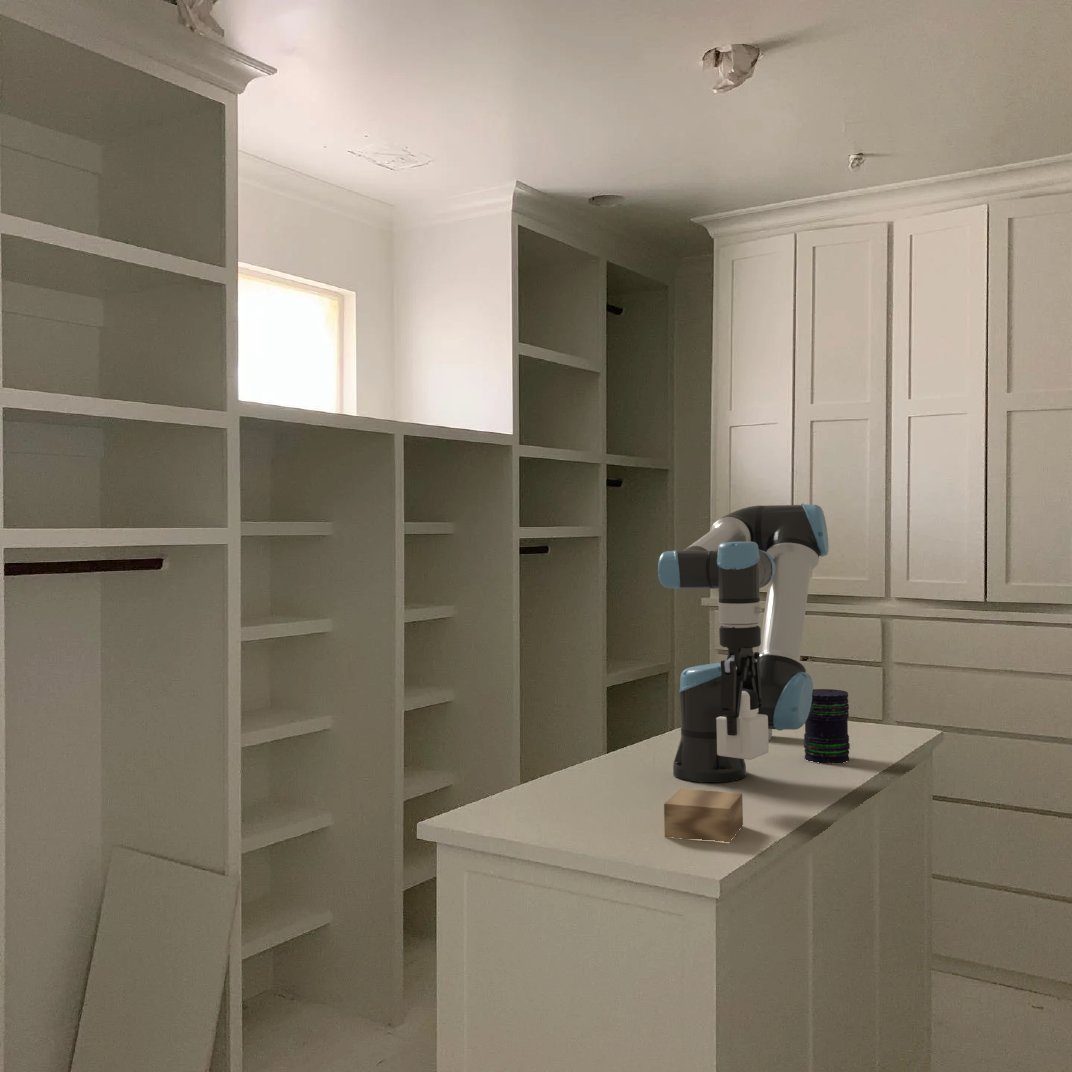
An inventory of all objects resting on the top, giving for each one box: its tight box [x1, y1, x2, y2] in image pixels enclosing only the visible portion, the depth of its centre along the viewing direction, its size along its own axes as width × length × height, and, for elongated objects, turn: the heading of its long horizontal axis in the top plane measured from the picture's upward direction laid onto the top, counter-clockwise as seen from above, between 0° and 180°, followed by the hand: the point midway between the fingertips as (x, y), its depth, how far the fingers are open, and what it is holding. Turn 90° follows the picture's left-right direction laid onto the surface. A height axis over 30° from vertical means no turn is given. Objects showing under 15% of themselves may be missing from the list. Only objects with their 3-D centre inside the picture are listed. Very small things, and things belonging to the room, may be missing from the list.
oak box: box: [663, 788, 744, 842], centre depth 183 cm, size 11×11×6 cm
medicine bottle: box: [716, 689, 770, 761], centre depth 199 cm, size 7×7×12 cm
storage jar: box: [803, 688, 851, 765], centre depth 239 cm, size 10×10×15 cm
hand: (742, 747), depth 199 cm, fingers closed on medicine bottle, 7 cm apart
